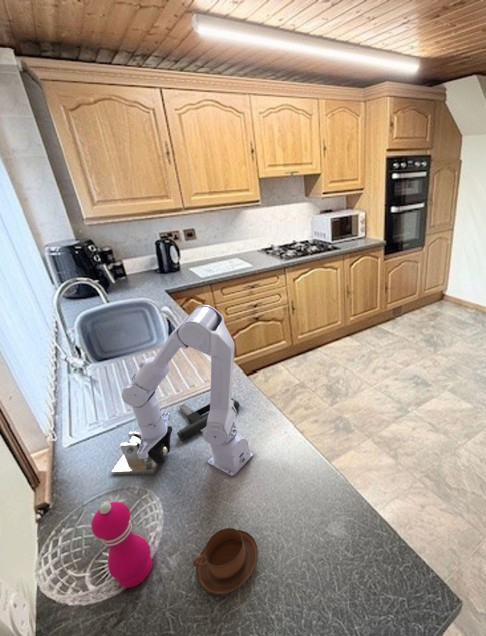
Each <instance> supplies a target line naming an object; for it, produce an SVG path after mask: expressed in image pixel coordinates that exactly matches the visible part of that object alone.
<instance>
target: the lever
mask: <svg viewBox="0 0 486 636" xmlns="http://www.w3.org/2000/svg"><path fill="white" fill-rule="evenodd" d="M140 441H141V438H139V437H136V436H132V437H131V439H130V438H129V439H128V442H127V443H132V442H138V443H139V445H140ZM167 451H168V449H167V447H166V446H165V445H164V446H163V455H164V457H165V456H166V455H167V453H168V452H167Z"/></svg>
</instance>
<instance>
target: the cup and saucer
mask: <svg viewBox="0 0 486 636" xmlns="http://www.w3.org/2000/svg"><path fill="white" fill-rule="evenodd" d="M258 549H259V548H258V545H257V542H256V540H255V538H254V537H253V536H252V535H251V534H250V533H248V532H247V531H245V530H242V529H236V528H233V527H226V528H222V529H220V530H218V531H216V532H215V533H213V534H212V535H211V537H209V539H208V540H207V542H206V544H205V546H204V547H203V549H202V551H201V552H200V554H199V556H197V557H195V558H194V559H193V560H192V565H193V566H194V568H196V570H195V572H196V573H195V574H196V578H197V581H198V583H199V585H200V586H201V587H202V588H203V589H204V590H205V591H206V592H208V593H210V594H213V595H225V594H229V593H232V592H235V591H236V590H237V589H239V588H241V587H242V586H243V585H244V584H245V583H246V582H247V581H248V580H249V579H250V577H251V576H252V575H253V572H254V571H255V568H256V566H257V563H258V557H259V550H258Z"/></svg>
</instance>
